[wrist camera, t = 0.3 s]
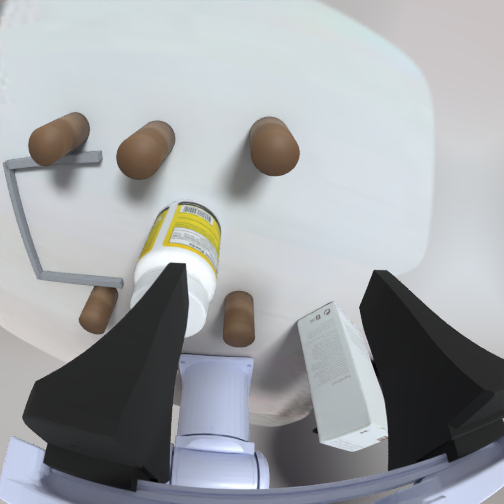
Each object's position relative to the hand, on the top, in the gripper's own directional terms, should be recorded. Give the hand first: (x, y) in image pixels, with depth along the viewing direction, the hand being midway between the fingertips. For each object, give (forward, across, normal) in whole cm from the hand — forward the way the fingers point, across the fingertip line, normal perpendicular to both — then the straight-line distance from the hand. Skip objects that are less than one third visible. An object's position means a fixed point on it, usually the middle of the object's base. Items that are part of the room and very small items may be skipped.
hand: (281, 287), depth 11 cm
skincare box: (+10, -8, +14) cm, 19 cm away
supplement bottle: (+10, +5, +4) cm, 12 cm away
